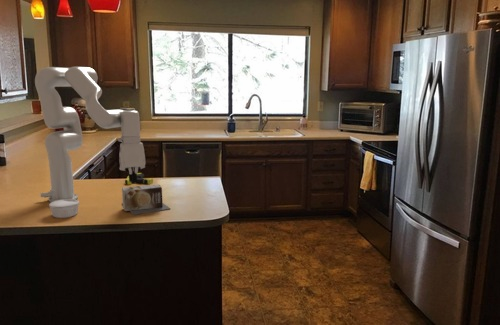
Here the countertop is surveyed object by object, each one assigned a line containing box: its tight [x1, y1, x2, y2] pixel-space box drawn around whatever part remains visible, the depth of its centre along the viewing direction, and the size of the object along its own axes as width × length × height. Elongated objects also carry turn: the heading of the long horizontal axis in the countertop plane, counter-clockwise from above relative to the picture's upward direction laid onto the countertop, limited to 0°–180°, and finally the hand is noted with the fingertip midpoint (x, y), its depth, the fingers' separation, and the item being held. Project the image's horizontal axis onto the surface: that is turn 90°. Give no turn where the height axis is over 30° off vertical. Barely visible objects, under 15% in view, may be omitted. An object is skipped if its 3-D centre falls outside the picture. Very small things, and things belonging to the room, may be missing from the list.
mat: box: [121, 202, 171, 216], centre depth 185 cm, size 16×18×1 cm
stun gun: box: [124, 172, 154, 186], centre depth 234 cm, size 3×19×15 cm
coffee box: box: [121, 184, 164, 212], centre depth 182 cm, size 9×6×16 cm
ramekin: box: [48, 199, 80, 219], centre depth 173 cm, size 11×11×5 cm
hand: (133, 182), depth 181 cm, fingers closed
